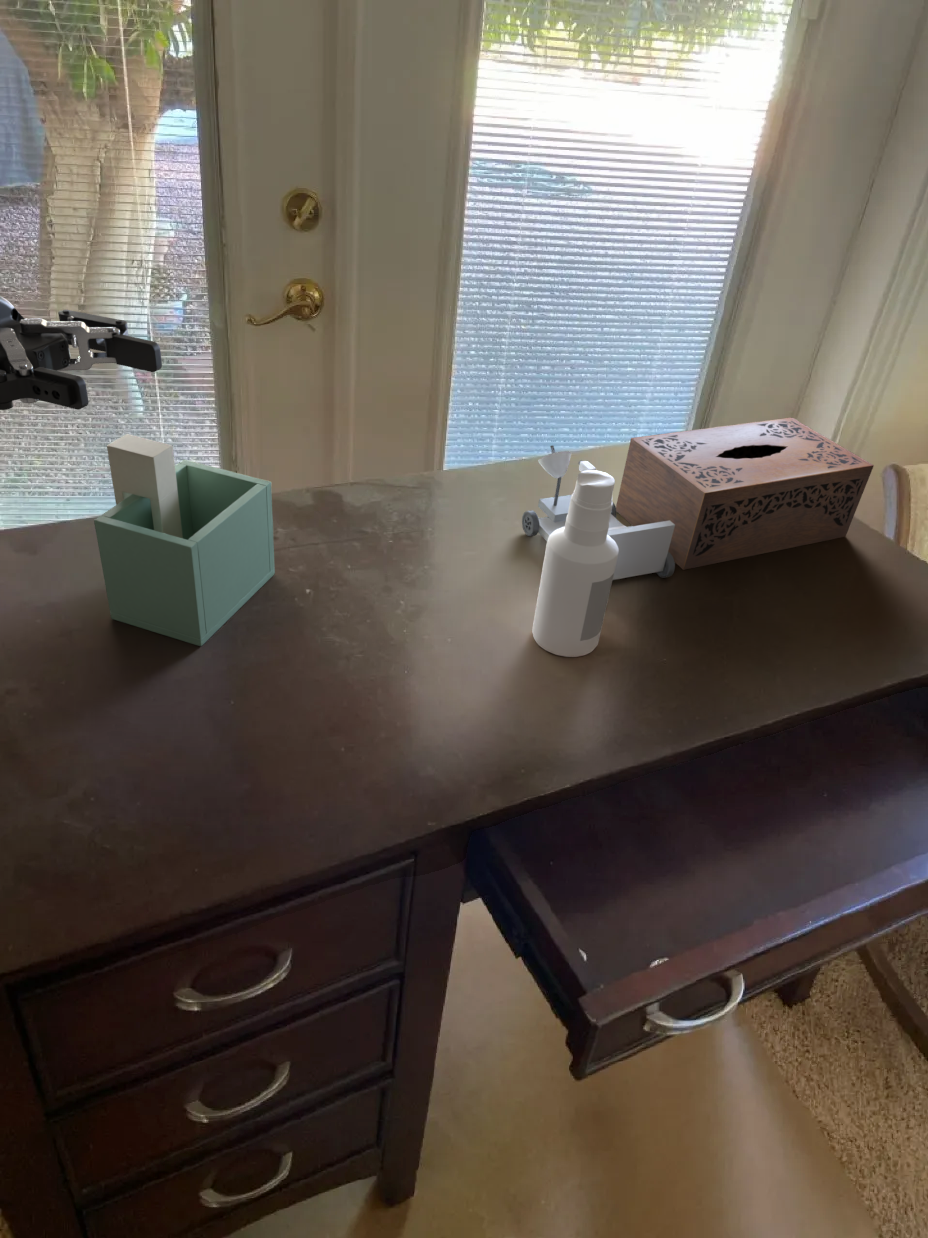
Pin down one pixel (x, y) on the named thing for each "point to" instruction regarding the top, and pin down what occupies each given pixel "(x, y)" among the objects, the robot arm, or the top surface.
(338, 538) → the top surface
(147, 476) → the clip
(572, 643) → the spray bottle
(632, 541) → the toy car
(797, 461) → the tissue box cover
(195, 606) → the bin
